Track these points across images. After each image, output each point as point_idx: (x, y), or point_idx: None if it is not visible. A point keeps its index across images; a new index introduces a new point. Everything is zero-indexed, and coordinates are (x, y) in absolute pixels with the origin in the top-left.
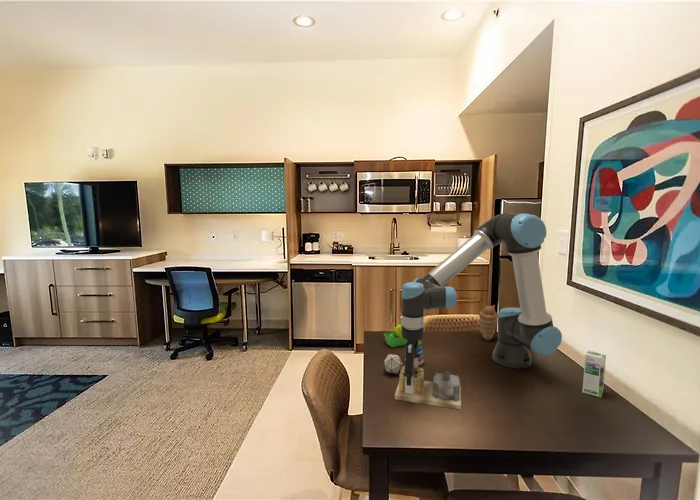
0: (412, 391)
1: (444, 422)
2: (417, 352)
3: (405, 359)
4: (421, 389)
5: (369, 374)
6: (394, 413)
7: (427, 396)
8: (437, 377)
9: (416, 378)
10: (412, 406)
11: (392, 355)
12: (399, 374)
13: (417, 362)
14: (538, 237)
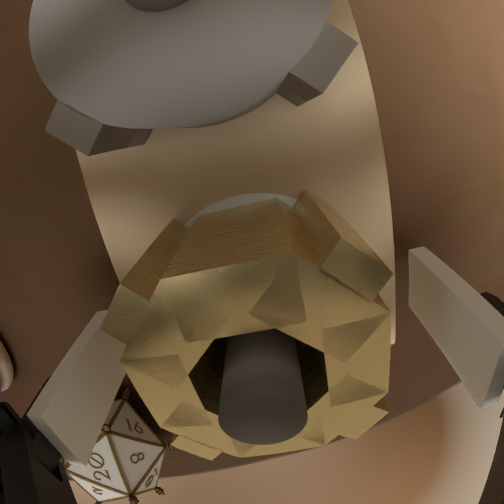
0: (433, 258)
1: (474, 18)
2: (9, 476)
3: (5, 389)
4: (323, 205)
5: (208, 470)
6: (494, 275)
7: (327, 140)
8: (162, 75)
9: (375, 297)
10: (424, 213)
11: (95, 492)
12: (356, 435)
13: (60, 388)
14: None
